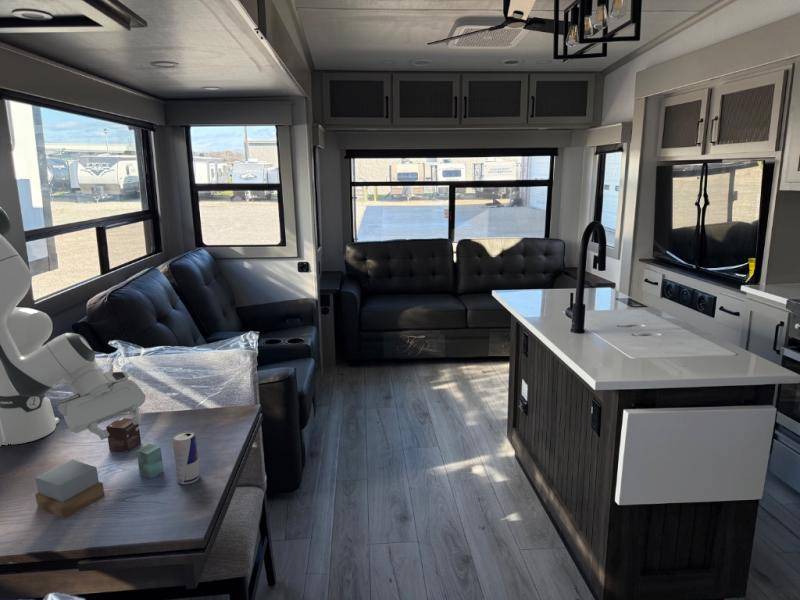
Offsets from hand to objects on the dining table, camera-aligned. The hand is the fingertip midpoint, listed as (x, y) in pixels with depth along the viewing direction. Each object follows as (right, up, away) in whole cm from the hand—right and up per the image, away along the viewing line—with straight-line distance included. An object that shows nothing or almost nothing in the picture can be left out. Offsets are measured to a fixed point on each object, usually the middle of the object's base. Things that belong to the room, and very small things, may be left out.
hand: (122, 430), depth 145 cm
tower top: (-7, -11, -12) cm, 18 cm away
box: (-6, -8, +15) cm, 18 cm away
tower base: (-6, -15, -12) cm, 20 cm away
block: (+7, -11, 0) cm, 13 cm away
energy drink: (+18, -12, -3) cm, 22 cm away
